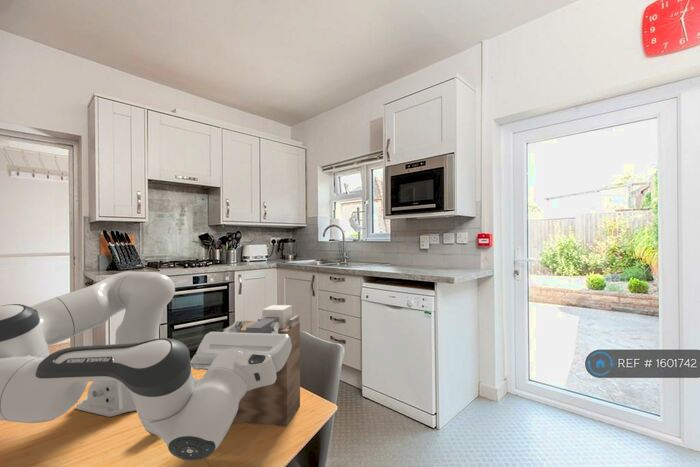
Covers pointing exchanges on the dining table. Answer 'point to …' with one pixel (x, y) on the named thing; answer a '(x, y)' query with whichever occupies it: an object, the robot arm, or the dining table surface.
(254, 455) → the dining table surface
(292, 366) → the brown wood grain box
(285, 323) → the grey and white block
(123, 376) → the robot arm
